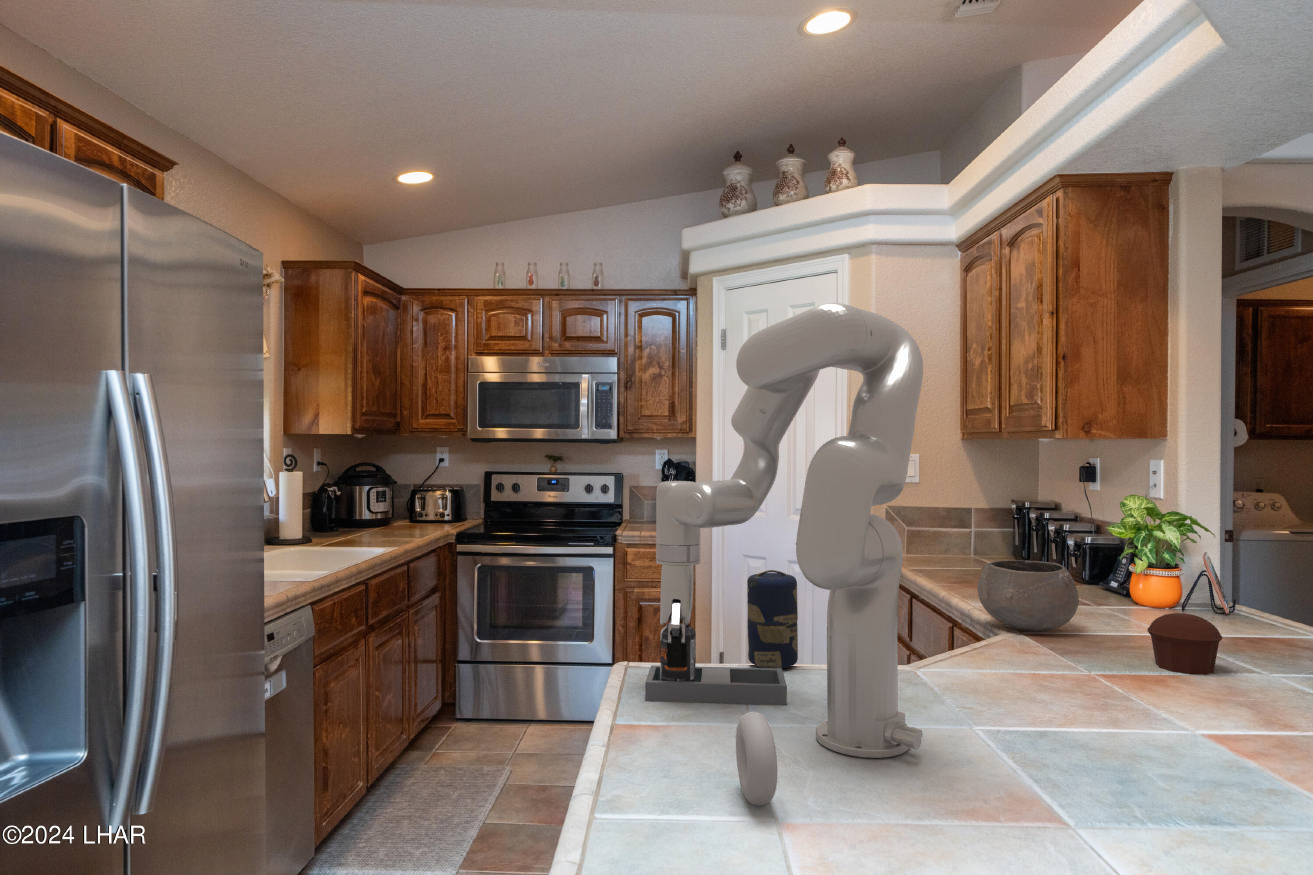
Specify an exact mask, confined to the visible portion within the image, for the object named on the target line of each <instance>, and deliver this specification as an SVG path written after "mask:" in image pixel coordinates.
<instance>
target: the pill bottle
mask: <svg viewBox="0 0 1313 875" xmlns="http://www.w3.org/2000/svg"><path fill="white" fill-rule="evenodd" d="M671 623H672V620H671ZM680 623H683V621H682V620H680ZM668 624H669V618H668V621H667V623H666V625H665V626H664V627H662V629H661V630H660V654H659V655H660V656H659V658H660V662H659V664H660V665H659V666H660V680H661V681H688V682H695V666H696V656H697V654H696V653H697V652H696V650H697V648H696V646H697V645H696V644H697V642H696V641H697V640H696V638H697V635H696V630H695V628H693V626H690V624H691V621H690V622H689V624H688V625H686V627H685V643H687V665H686V667H685V668H669V667H667V642H668ZM680 629H681V630H682V628H680Z"/></svg>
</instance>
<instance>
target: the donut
mask: <svg viewBox="0 0 1313 875" xmlns="http://www.w3.org/2000/svg"><path fill="white" fill-rule="evenodd" d="M735 752H736V753H735V754H736V756H735V757H736V764H737V765H736V767H737V774H738V780H739V784H740V787H741V788H740V789H741V790H742V793H743V795H744V796H745V798H746V800H747V802H749V803H750V804H752V805H754V806H764V805H767V804H769V803H771V802H772V800H773V798H774V796H775V794H776V792H777V785H778V759H777V748H776V743H775V737H774V734H773V730H772V726H771V725H770V723H769V720H767V718H766V717H765V716H764V715H763V714H761V713H760V712H757V711H749V712H746V713H744V714H743V715H742V716H741V717H740V718H739V720H738V722H737V726H736V733H735Z"/></svg>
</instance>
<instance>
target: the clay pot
mask: <svg viewBox="0 0 1313 875" xmlns="http://www.w3.org/2000/svg"><path fill="white" fill-rule="evenodd" d="M980 570H981V574H980V575H979V578H978V580H977V581H978V582H977V586H976V588H977V589H976V590H977V596H978V599H979V601H980V604H981V605H982V607H983V608H984V610H985V611H986V612H987V613H988V615H990V616H991V617H992V618H993V619H994V620H996V621H998V622H999V623H1001V624H1003V625H1005V626H1007V627H1010V628H1011V629H1016V630H1020V631H1026V632H1045V631H1046V632H1048V631H1053V630H1057V629H1059V628H1061V627H1062V626H1065V625H1067V624H1068V623H1069V622H1070V621H1071V620H1072V619H1073V617H1074V616H1075V615H1076V613H1077V611H1078V607H1079V602H1080V598H1079V592H1078V589H1077V585H1076V583H1075V580H1074V578H1073V576H1072V574H1071V573H1070V572H1069V570H1068V569H1067V568H1066V567H1065V566H1063V565H1061V564H1059V563H1057V562H1050V561H1049V562H1048V561H1042V560H1041V561H1037V560H1024V559H1007V560H996V561H991V562H987V563H985V564H984V565H983V566H982V567H981V569H980Z"/></svg>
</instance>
